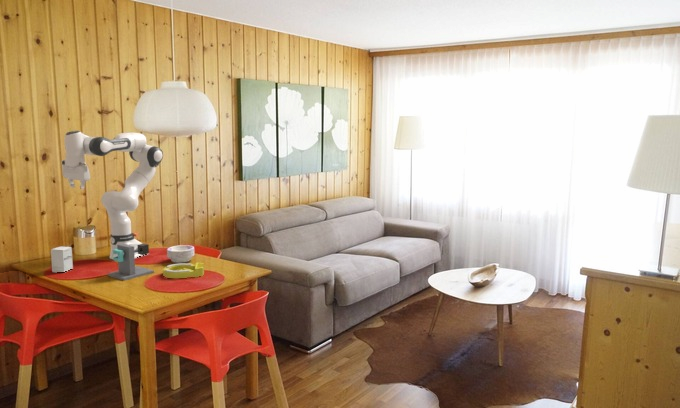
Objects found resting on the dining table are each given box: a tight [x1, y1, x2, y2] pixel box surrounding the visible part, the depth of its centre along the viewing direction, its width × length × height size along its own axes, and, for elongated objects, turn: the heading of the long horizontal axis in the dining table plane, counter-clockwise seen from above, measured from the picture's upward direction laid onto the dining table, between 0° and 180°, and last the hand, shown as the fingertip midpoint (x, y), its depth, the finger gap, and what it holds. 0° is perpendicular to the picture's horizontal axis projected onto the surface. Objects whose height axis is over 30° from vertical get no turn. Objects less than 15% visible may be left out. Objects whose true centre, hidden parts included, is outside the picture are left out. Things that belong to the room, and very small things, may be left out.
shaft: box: [112, 243, 150, 257], centre depth 282 cm, size 20×4×5 cm, turn 146°
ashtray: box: [162, 262, 205, 279], centre depth 284 cm, size 16×21×5 cm
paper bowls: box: [166, 244, 195, 264], centre depth 310 cm, size 15×15×8 cm
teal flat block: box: [112, 249, 124, 263], centre depth 276 cm, size 2×6×6 cm, turn 56°
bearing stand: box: [107, 244, 155, 281], centre depth 282 cm, size 18×14×16 cm
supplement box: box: [50, 245, 74, 273], centre depth 286 cm, size 7×7×13 cm
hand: (77, 188), depth 284 cm, fingers open, 8 cm apart
